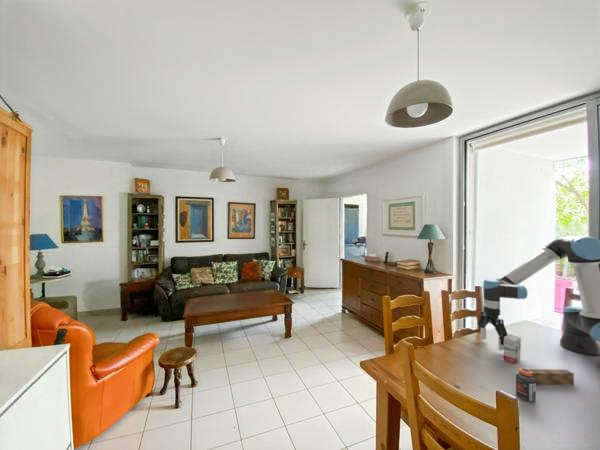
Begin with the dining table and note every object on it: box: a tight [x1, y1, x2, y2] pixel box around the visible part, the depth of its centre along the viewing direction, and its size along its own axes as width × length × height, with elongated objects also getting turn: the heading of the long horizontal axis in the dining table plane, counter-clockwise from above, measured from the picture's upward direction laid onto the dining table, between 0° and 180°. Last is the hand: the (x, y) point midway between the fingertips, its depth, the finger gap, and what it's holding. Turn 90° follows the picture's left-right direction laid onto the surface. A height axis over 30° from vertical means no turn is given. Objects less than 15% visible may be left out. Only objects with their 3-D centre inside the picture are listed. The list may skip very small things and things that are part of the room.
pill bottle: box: [515, 367, 537, 404], centre depth 99 cm, size 6×6×11 cm
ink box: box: [502, 333, 522, 365], centre depth 128 cm, size 8×5×12 cm, turn 123°
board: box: [527, 368, 575, 386], centre depth 109 cm, size 19×3×5 cm, turn 89°
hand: (492, 344), depth 142 cm, fingers open, 13 cm apart
